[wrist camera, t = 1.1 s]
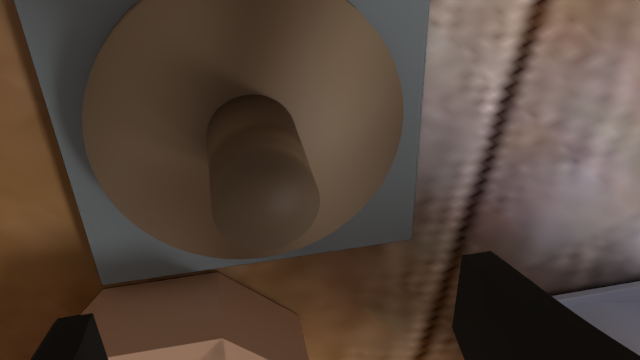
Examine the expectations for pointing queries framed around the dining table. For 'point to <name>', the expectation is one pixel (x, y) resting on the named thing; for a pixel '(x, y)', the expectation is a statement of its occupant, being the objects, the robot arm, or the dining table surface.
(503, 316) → the robot arm
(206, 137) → the lid
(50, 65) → the mat
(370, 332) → the dining table surface
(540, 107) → the dining table surface
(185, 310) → the bowl
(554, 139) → the dining table surface
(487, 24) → the dining table surface
